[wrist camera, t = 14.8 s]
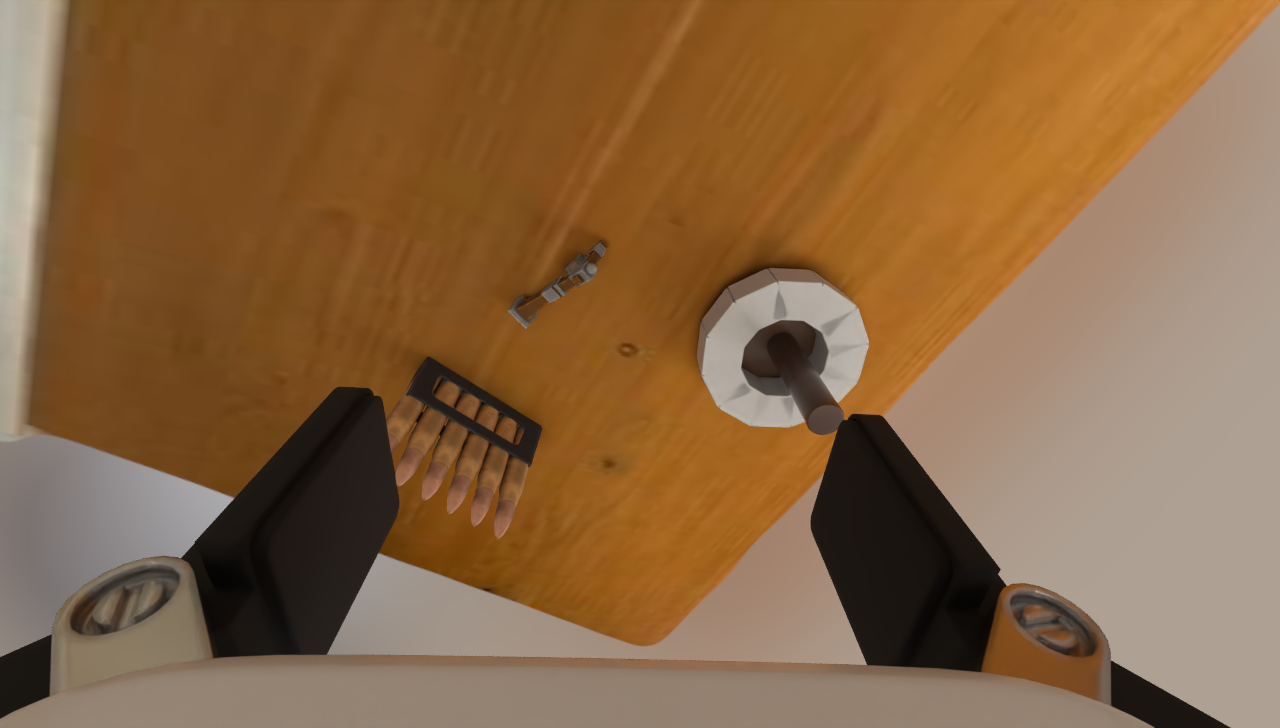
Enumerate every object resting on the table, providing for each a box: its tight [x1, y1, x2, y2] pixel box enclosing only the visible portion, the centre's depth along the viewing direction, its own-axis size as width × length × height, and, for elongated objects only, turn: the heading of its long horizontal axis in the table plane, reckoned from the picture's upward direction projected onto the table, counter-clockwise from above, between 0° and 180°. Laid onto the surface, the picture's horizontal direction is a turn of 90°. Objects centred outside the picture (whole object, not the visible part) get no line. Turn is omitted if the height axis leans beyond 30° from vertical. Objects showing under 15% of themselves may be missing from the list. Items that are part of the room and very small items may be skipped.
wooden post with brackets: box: [508, 240, 608, 328], centre depth 37 cm, size 2×8×4 cm, turn 129°
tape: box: [697, 268, 869, 427], centre depth 39 cm, size 12×12×3 cm
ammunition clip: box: [386, 357, 542, 539], centre depth 38 cm, size 11×2×12 cm, turn 50°
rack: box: [741, 320, 844, 435], centre depth 37 cm, size 8×8×11 cm
